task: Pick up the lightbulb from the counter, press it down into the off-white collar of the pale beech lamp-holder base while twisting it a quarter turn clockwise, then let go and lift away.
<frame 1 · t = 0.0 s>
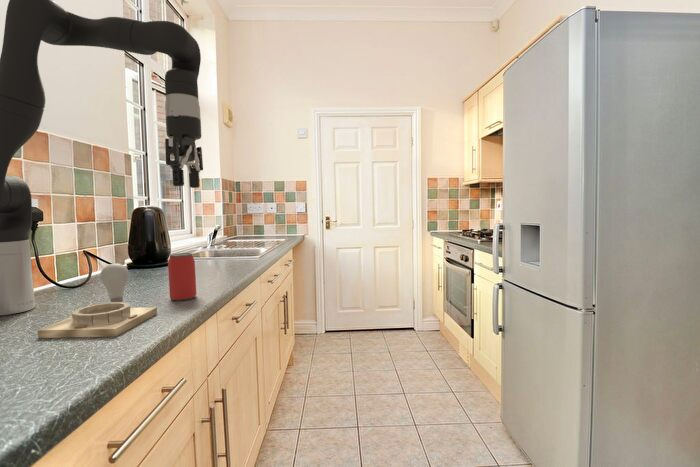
hand: (187, 187, 88), 29 cm above the countertop, tool pointing down, fingers open, 8 cm apart
lightbulb: (117, 307, 93), on the countertop
beer can: (183, 298, 100), on the countertop
lamp holder: (103, 324, 79), on the countertop
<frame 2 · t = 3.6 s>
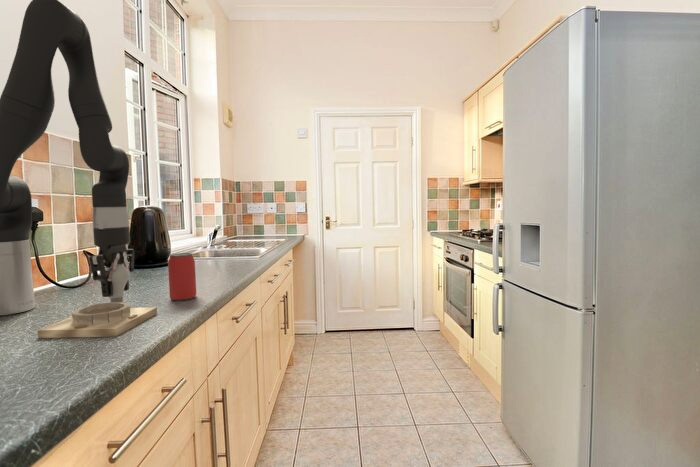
hand: (116, 293, 92), 4 cm above the countertop, tool pointing down, fingers closed on lightbulb, 5 cm apart
lightbulb: (117, 307, 93), on the countertop, touching gripper
everything else where it was.
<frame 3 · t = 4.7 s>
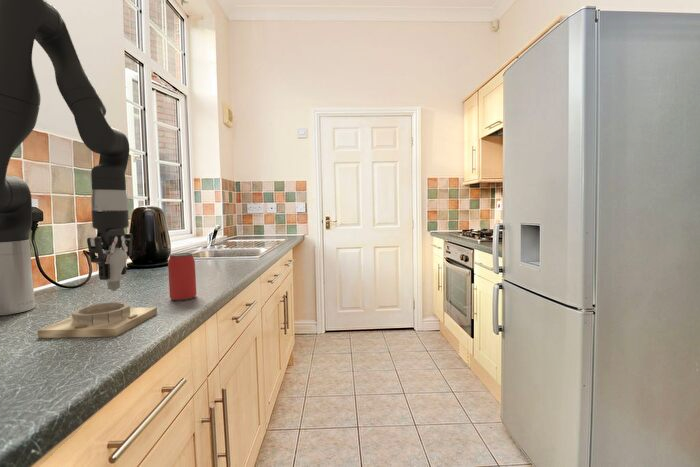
hand: (113, 276, 92), 8 cm above the countertop, tool pointing down, fingers closed on lightbulb, 5 cm apart
lightbulb: (114, 291, 92), point 4 cm above the countertop, touching gripper
everything else where it was.
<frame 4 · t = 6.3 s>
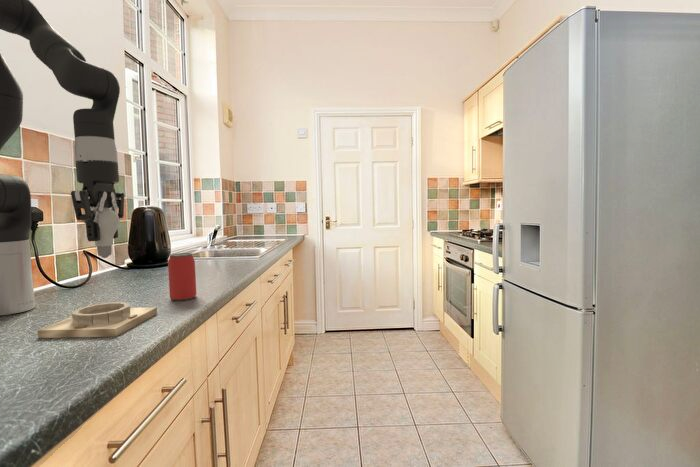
hand: (103, 239, 80), 18 cm above the countertop, tool pointing down, fingers closed on lightbulb, 5 cm apart
lightbulb: (104, 258, 80), point 14 cm above the countertop, touching gripper
everything else where it was.
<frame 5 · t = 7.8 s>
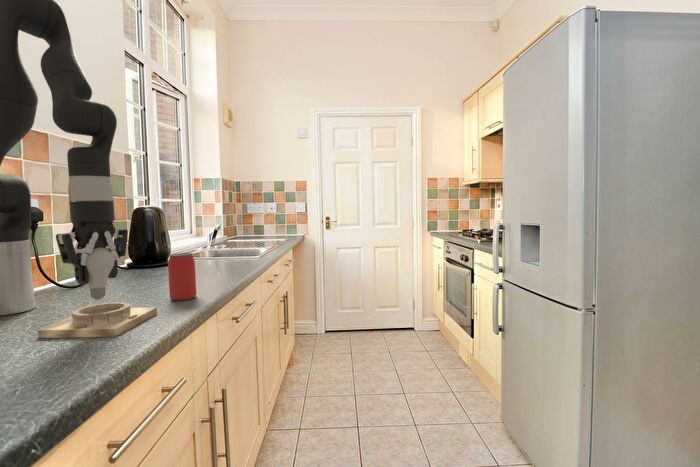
hand: (97, 280, 77), 10 cm above the countertop, tool pointing down, fingers closed on lightbulb, 5 cm apart
lightbulb: (98, 300, 77), point 5 cm above the countertop, touching gripper
everything else where it was.
when the fingers open (5 cm above the countertop, at t = 9.7 s): lightbulb stays where it is, resting on lamp holder.
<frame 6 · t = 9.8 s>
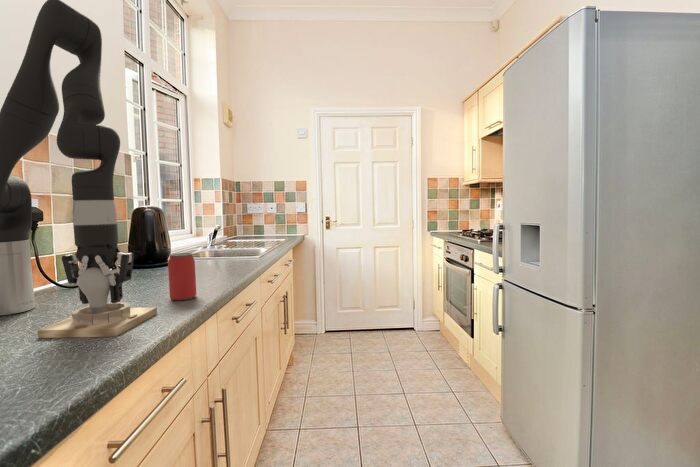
hand: (101, 302, 78), 5 cm above the countertop, tool pointing down, fingers open, 5 cm apart
lightbulb: (99, 319, 78), point 1 cm above the countertop, touching lamp holder
everything else where it was.
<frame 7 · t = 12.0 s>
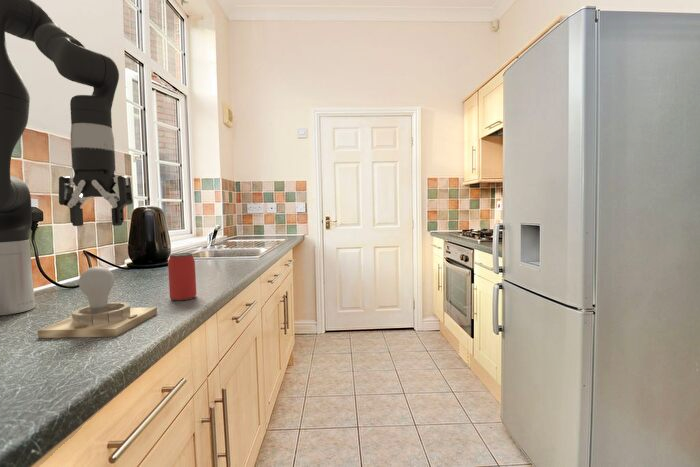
hand: (97, 225, 79), 21 cm above the countertop, tool pointing down, fingers open, 8 cm apart
nothing on the countertop moved.
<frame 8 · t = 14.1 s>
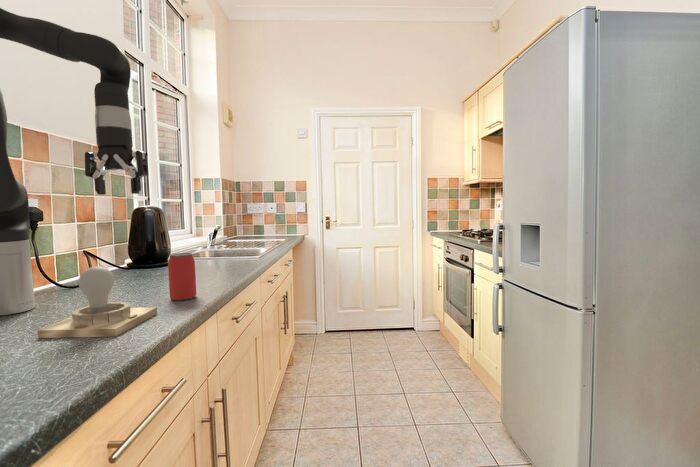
hand: (118, 194, 92), 28 cm above the countertop, tool pointing down, fingers open, 8 cm apart
nothing on the countertop moved.
at the end: lightbulb 0.6 cm off-centre on the lamp holder, point 1.3 cm above the lamp holder's base; lightbulb tilted 0°; the gripper is holding nothing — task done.
